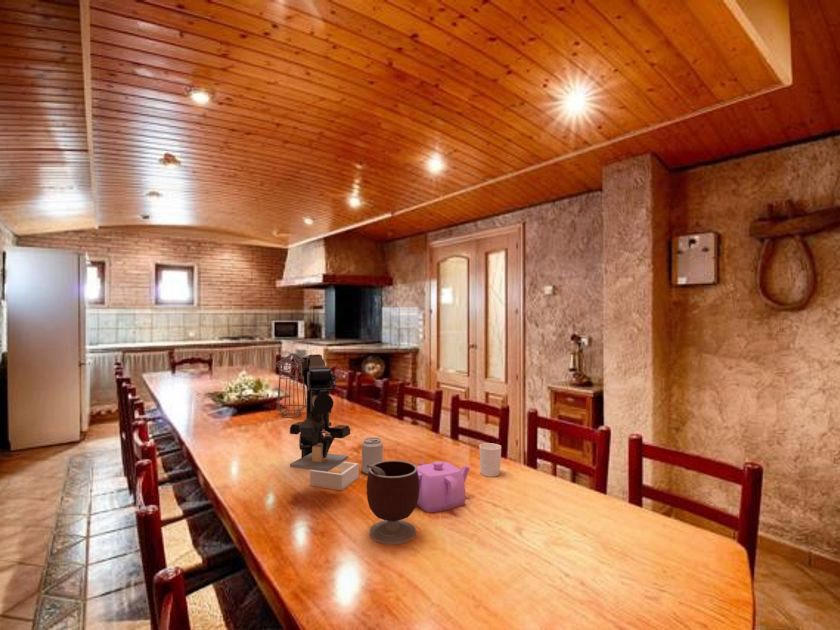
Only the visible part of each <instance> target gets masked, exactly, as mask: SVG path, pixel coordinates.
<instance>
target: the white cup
mask: <svg viewBox="0 0 840 630" xmlns="http://www.w3.org/2000/svg"><path fill="white" fill-rule="evenodd" d="M478 449H479V465H480V474H481V475H482V476H484V477H491V478H494V477H495V478H496V477H498V476H500V472H501V470H500V469H501V460H502V457H501V456H502V445H500V444H497V443H492V442H491V443H490V442H484V443H481V444H479V447H478Z"/></svg>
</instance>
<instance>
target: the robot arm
mask: <svg viewBox="0 0 840 630" xmlns="http://www.w3.org/2000/svg"><path fill="white" fill-rule="evenodd" d="M300 366H301V369H300V370H301V372H300V377H302V376H303V378H302V383H303V382H304V384H305V388H306V410H305V419H304V420H303V421H298V422H295V423H292V424H291V425H290V427H289V435H299V439H298V446H299V447H298V448H299V450H300V451H301V457H300V458H302V457H304V456H306V455H308V454H310V453H312V446H315V445H317V444H319V443H322V444H323V458H325V457H326V456H327V454H329V452H330V451H329V450H330V448H331V446H332V443H333V442H334V441H335V439H344V438H346V437H348V436H350V435H351V428H350V427H349V425H347V424H346V425H344V424H338V425H335V426H333V427H332V422H331V421H330V414H331V413H332V409H333V407H334V399H333V398H332V396H331V395H330V391H335V388H336V380H335V379H336V378H335V374H334V372H333V370H331V367H330V366H328V365H326V361H325V360H324V359H323V355H322V354H319V353H318V354H309V355H307V358H306V359H304V360H302V364H301V365H300Z"/></svg>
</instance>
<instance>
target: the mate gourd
mask: <svg viewBox="0 0 840 630" xmlns="http://www.w3.org/2000/svg"><path fill="white" fill-rule="evenodd" d="M417 466H418V465H416V464H414V463H413V462H409V461H406V460H398V459H397V460H396V459H394V460H392V459H391V460H383V461H382V462H378V463H375V464H373V465H367V468H369V473H368V474H367V479H366V497H367V503H368V508H369V509H370V510H371V512H372V513H373V514H374V516H375V517H377V519H380V520H381V521H379V522H376V523H374V524H373V525H371V527H370V529H369V537H370V538H371V539H372V540H373V541H374V542H376V543H379V544H382V545H390V546H391V545H392V546H393V545H401V544H405V543H408V542H410V541H412V540H413V539H414V538H415V536H416V533H417V531H416V530H417V529H416V527H415V525H414V524H412V523H411V522H409V521H407V520H406V519H407V518H408V517H410V516H411V515H412V513H413V511H415V509H416V508H417V506H418V505H417V502H418V497H419V477H418V472H417Z"/></svg>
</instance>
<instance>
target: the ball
mask: <svg viewBox="0 0 840 630" xmlns="http://www.w3.org/2000/svg"><path fill="white" fill-rule="evenodd" d="M329 472H332V473H339V474H341V471H340V469H339V468H337V467H334V468H333V469H331V470H330V471H329Z"/></svg>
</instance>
